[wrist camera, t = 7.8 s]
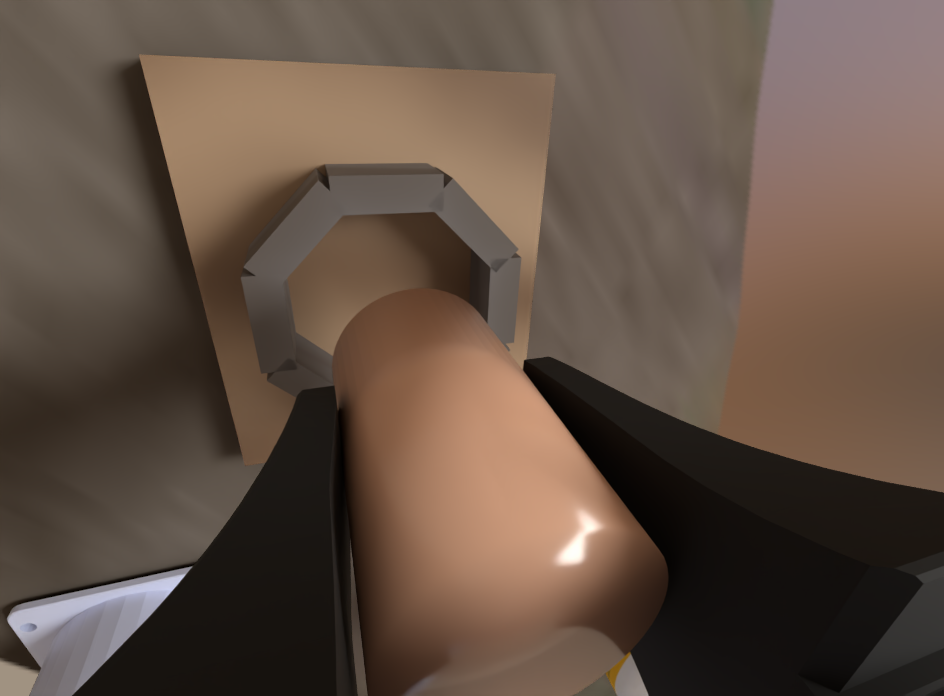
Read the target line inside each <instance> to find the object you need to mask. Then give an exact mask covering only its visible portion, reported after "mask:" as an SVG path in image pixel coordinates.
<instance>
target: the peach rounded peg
mask: <svg viewBox="0 0 944 696" xmlns="http://www.w3.org/2000/svg"><path fill="white" fill-rule="evenodd" d="M332 377H333V386H334V385H335V393H336V401H337V409H338V417H339V426H340V435H341V443H342V464H343V476H344V485H345V494H346V503H347V512H348V521H349V530H350V539H351V548H352V557H353V566H354V575H355V584H356V593H357V602H358V611H359V620H360V629H361V638H362V647H363V656H364V665H365V674H366V683H367V692H368V696H573V695H575V694H576V693H578V692H580V691H581V690H583V689H584V688H586V687H587V686H589V685H590V684H592V683H593V682H595V681H596V680H597V679H599V678H600V677H601V676H603V675H604V674H605V673H606V672H608V671H609V670H610V669H611V668H612V667H614V666H615V665H616V664H617V663H618V662H619V661H621V660H622V659H623V658H624V657H625V656H626V655H627V654H628V653H629V652H630V651H631V650H632V649H633V648H634V646H635V645H636V644H637V643H638V642H639V641H640V640H641V638H642V637H643V636H644V635H645V633H646V632H647V630H648V629H649V628H650V626H651V625H652V623H653V622H654V620H655V618H656V617H657V615H658V613H659V611H660V609H661V606H662V604H663V602H664V599H665V596H666V592H667V587H668V567H667V564H666V561H665V559H664V556H663V555H662V553H661V552H660V550H659V549H658V548H657V546H656V545H655V544H654V542H653V541H652V540H651V538H650V537H649V536H648V534H647V533H646V532H645V530H644V529H643V528H642V526H641V525H640V524H639V523H638V521H637V520H636V519H635V517H634V516H633V515H632V513H631V512H630V511H629V509H628V508H627V507H626V505H625V504H624V503H623V501H622V500H621V499H620V498H619V496H618V495H617V494H616V492H615V491H614V490H613V488H612V487H611V486H610V484H609V483H608V482H607V480H606V479H605V478H604V477H603V475H602V474H601V473H600V471H599V470H598V469H597V467H596V466H595V465H594V463H593V462H592V461H591V459H590V458H589V457H588V455H587V454H586V453H585V452H584V450H583V449H582V448H581V446H580V445H579V444H578V442H577V441H576V440H575V438H574V437H573V436H572V434H571V433H570V432H569V430H568V429H567V428H566V427H565V425H564V424H563V423H562V421H561V420H560V419H559V417H558V416H557V415H556V413H555V412H554V411H553V409H552V408H551V407H550V405H549V404H548V403H547V402H546V400H545V399H544V398H543V396H542V395H541V394H540V392H539V391H538V390H537V388H536V387H535V386H534V384H533V383H532V382H531V381H530V379H529V378H528V377H527V375H526V374H525V373H524V371H523V370H522V369H521V367H520V366H519V365H518V363H517V362H516V361H515V359H514V358H513V357H512V356H511V354H510V353H509V352H508V350H507V349H506V348H505V346H504V345H503V344H502V342H501V341H500V340H499V338H498V337H497V336H496V334H495V333H494V332H493V331H492V329H491V328H490V327H489V325H488V324H487V323H486V321H485V320H484V319H483V317H482V316H481V315H480V313H479V312H478V311H477V310H476V309H475V308H474V307H473V306H472V305H470V304H469V303H468V302H466V301H465V300H463V299H462V298H460V297H458V296H456V295H453V294H451V293H448V292H445V291H441V290H437V289H428V288H415V289H407V290H402V291H398V292H394V293H391V294H388V295H386V296H384V297H381V298H379V299H377V300H376V301H374V302H372V303H370V304H369V305H367V306H366V307H365V308H363V309H362V310H361V311H360V312H359V313H357V314H356V315H355V316H354V317H353V318H352V319H351V321H350V322H349V323H348V324H347V326H346V327H345V328H344V330H343V332H342V333H341V335H340V337H339V339H338V341H337V344H336V346H335V350H334V353H333V359H332Z"/></svg>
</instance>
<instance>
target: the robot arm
mask: <svg viewBox="0 0 944 696" xmlns="http://www.w3.org/2000/svg"><path fill="white" fill-rule="evenodd" d="M523 371H524V373H525V374H526V375H527V377H528V378H529V379H530V381H531V382H532V383H533V384H534V386H535V387H536V388H537V390H538V391H539V392H540V394H541V395H542V396H543V398H544V399H545V400H546V402H547V403H548V404H549V405H550V407H551V408H552V409H553V411H554V412H555V413H556V415H557V416H558V417H559V419H560V420H561V421H562V423H563V424H564V425H565V427H566V428H567V429H568V430H569V432H570V433H571V434H572V436H573V437H574V438H575V440H576V441H577V442H578V444H579V445H580V446H581V448H582V449H583V450H584V452H585V453H586V454H587V455H588V457H589V458H590V459H591V461H592V462H593V463H594V465H595V466H596V467H597V469H598V470H599V471H600V473H601V474H602V475H603V477H604V478H605V479H606V480H607V482H608V483H609V484H610V486H611V487H612V488H613V490H614V491H615V492H616V494H617V495H618V496H619V498H620V499H621V500H622V501H623V503H624V504H625V505H626V507H627V508H628V509H629V511H630V512H631V513H632V515H633V516H634V517H635V519H636V520H637V521H638V523H639V524H640V525H641V526H642V528H643V529H644V530H645V532H646V533H647V534H648V536H649V537H650V538H651V540H652V541H653V542H654V544H655V545H656V546H657V548H658V549H659V550H660V552H661V553H662V555H663V556H664V559H665V561H666V564H667V567H668V587H667V592H666V596H665V599H664V602H663V604H662V606H661V609H660V611H659V613H658V615H657V617H656V618H655V620H654V622H653V623H652V625H651V626H650V628H649V629H648V630H647V632H646V633H645V635H644V636H643V637H642V638H641V640H640V641H639V642H638V643H637V644H636V645H635V646H634V648H633V649H632V650H631V651H630V653H631V655H632V658H633V660H634V662H635V664H636V667H637V669H638V671H639V674H640V676H641V678H642V681H643V683H644V686H645V688H646V690H647V693H648V695H649V696H944V493H943V492H937V491H932V490H926V489H921V488H916V487H910V486H904V485H899V484H894V483H888V482H883V481H879V480H874V479H870V478H865V477H861V476H856V475H852V474H848V473H844V472H840V471H835V470H831V469H827V468H823V467H820V466H816V465H811V464H808V463H804V462H801V461H797V460H794V459H790V458H786V457H783V456H780V455H777V454H774V453H770V452H767V451H764V450H760V449H757V448H754V447H751V446H748V445H745V444H742V443H739V442H736V441H733V440H731V439H727V438H725V437H722V436H720V435H717V434H714V433H712V432H709V431H706V430H704V429H701V428H698V427H696V426H694V425H691V424H689V423H686V422H684V421H681V420H679V419H677V418H675V417H672V416H670V415H668V414H666V413H663V412H661V411H659V410H657V409H655V408H652V407H650V406H648V405H646V404H644V403H642V402H640V401H638V400H636V399H634V398H632V397H630V396H628V395H626V394H624V393H622V392H620V391H618V390H616V389H614V388H612V387H610V386H608V385H606V384H604V383H602V382H600V381H598V380H596V379H594V378H592V377H590V376H589V375H587V374H585V373H583V372H581V371H579V370H577V369H575V368H573V367H571V366H569V365H567V364H565V363H563V362H561V361H558V360H556V359H554V358H551V357H543V358H536V359H528V360H524V364H523ZM7 621H8V623H9V625H10V626H11V627H12V629H13V630H14V632H15V633H16V634H17V636H18V637H19V638H20V640H21V641H22V643H23V644H24V645H25V647H26V648H27V649H28V651H29V652H30V654H31V655H32V656H33V658H34V659H35V660H36V662H37V663H38V665H39V666H40V667H41V670H40V672H39V674H38V677H37V679H36V681H35V684H34V686H33V688H32V691H31V693H30V695H29V696H358V694H357V684H356V674H355V664H354V654H353V644H352V626H351V566H350V530H349V521H348V512H347V503H346V494H345V485H344V476H343V464H342V443H341V435H340V426H339V417H338V409H337V401H336V393H335V385H334V386H327V387H319V388H312V389H305V390H302V391H301V392H300V393H299V394H298V395H297V397H296V400H295V403H294V406H293V409H292V411H291V414H290V416H289V418H288V421H287V423H286V425H285V427H284V429H283V431H282V433H281V435H280V437H279V439H278V441H277V443H276V445H275V446H274V448H273V450H272V452H271V454H270V456H269V458H268V460H267V461H266V463H265V465H264V467H263V468H262V470H261V471H260V473H259V475H258V476H257V478H256V479H255V481H254V483H253V484H252V486H251V487H250V489H249V491H248V492H247V494H246V495H245V497H244V499H243V500H242V502H241V503H240V505H239V506H238V508H237V509H236V510H235V512H234V513H233V515H232V516H231V518H230V519H229V520H228V522H227V523H226V524H225V526H224V527H223V529H222V530H221V531H220V533H219V534H218V535H217V537H216V538H215V539H214V540H213V542H212V543H211V544H210V546H209V547H208V548H207V550H206V551H205V552H204V553H203V555H202V556H201V557H200V558H199V559H198V561H197V562H196V563H195V564H194V565H193V566H191V567H187V568H182V569H178V570H173V571H168V572H164V573H159V574H155V575H150V576H146V577H141V578H136V579H132V580H127V581H123V582H118V583H114V584H109V585H104V586H100V587H95V588H91V589H86V590H82V591H77V592H72V593H68V594H63V595H59V596H54V597H50V598H45V599H41V600H36V601H31V602H27V603H23V604H20V605H17V606H15V607H14V608H12V610H11V612H10V614H9V616H8V618H7Z"/></svg>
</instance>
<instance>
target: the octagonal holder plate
mask: <svg viewBox="0 0 944 696" xmlns="http://www.w3.org/2000/svg"><path fill="white" fill-rule="evenodd" d="M139 57H140V61H141V65H142V69H143V72H144V76H145V80H146V84H147V88H148V92H149V96H150V99H151V103H152V107H153V111H154V115H155V119H156V123H157V127H158V130H159V134H160V138H161V142H162V146H163V150H164V154H165V158H166V161H167V165H168V169H169V173H170V177H171V181H172V185H173V188H174V192H175V196H176V200H177V204H178V208H179V212H180V216H181V219H182V223H183V227H184V231H185V235H186V239H187V243H188V247H189V250H190V254H191V258H192V262H193V266H194V270H195V274H196V278H197V281H198V285H199V289H200V293H201V297H202V301H203V305H204V308H205V312H206V316H207V320H208V324H209V328H210V332H211V336H212V339H213V343H214V347H215V351H216V355H217V359H218V363H219V367H220V370H221V374H222V378H223V382H224V386H225V390H226V394H227V397H228V401H229V405H230V409H231V413H232V417H233V421H234V425H235V428H236V432H237V436H238V440H239V444H240V448H241V452H242V456H243V459H244V463H245V466H248V465H254V464H259V463H265V462H266V461H267V460H268V458H269V456H270V454H271V452H272V450H273V448H274V446H275V445H276V443H277V441H278V439H279V437H280V435H281V433H282V431H283V429H284V427H285V425H286V423H287V421H288V418H289V416H290V414H291V411H292V409H293V406H294V403H295V400H296V397H297V395H298V394H299V393H300V392H301V391H302V390H305V389H312V388H319V387H327V386H333V377H332V359H333V353H334V350H335V346H336V344H337V341H338V339H339V337H340V335H341V333H342V332H343V330H344V328H345V327H346V326H347V324H348V323H349V322H350V321H351V319H352V318H353V317H354V316H355V315H356V314H357V313H359V312H360V311H361V310H362V309H363V308H365V307H366V306H367V305H369V304H370V303H372V302H374V301H376V300H377V299H379V298H381V297H384V296H386V295H388V294H391V293H394V292H398V291H402V290H407V289H415V288H428V289H437V290H441V291H445V292H448V293H451V294H453V295H456V296H458V297H460V298H462V299H463V300H465V301H466V302H468V303H469V304H470V305H472V306H473V307H474V308H475V309H476V310H477V311H478V312H479V313H480V315H481V316H482V317H483V319H484V320H485V321H486V323H487V324H488V325H489V327H490V328H491V329H492V331H493V332H494V333H495V334H496V336H497V337H498V338H499V340H500V341H501V342H502V344H503V345H504V346H505V348H506V349H507V350H508V352H509V353H510V354H511V356H512V357H513V358H514V359H515V361H516V362H517V363H518V365H519V366H520V367H521V369H522V370H523V364H524V360H526V357H527V348H528V338H529V328H530V319H531V309H532V299H533V289H534V280H535V270H536V260H537V250H538V241H539V231H540V221H541V212H542V202H543V192H544V182H545V173H546V163H547V153H548V143H549V134H550V124H551V114H552V105H553V95H554V85H555V75H556V74H543V73H522V72H500V71H479V70H457V69H436V68H415V67H393V66H372V65H350V64H329V63H307V62H286V61H264V60H243V59H221V58H200V57H179V56H157V55H139Z"/></svg>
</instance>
